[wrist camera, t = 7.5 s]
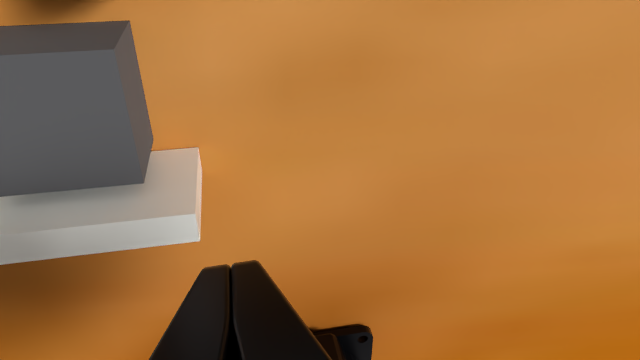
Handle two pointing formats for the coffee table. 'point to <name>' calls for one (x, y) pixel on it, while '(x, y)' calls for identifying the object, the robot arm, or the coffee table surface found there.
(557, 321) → the coffee table surface
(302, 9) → the coffee table surface
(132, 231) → the channel
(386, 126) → the coffee table surface
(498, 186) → the coffee table surface
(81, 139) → the block
